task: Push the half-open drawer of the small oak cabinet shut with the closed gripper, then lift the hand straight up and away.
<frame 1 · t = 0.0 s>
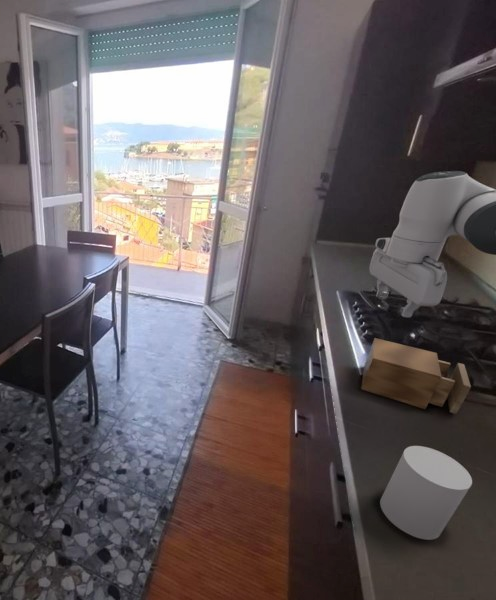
hand: (392, 306, 83), 22 cm above the worktop, tool pointing down, fingers open, 8 cm apart
cup: (408, 516, 61), on the worktop
cabinet: (392, 386, 92), on the worktop
drawer: (431, 380, 86), point 5 cm above the worktop, slide at 4.0 cm
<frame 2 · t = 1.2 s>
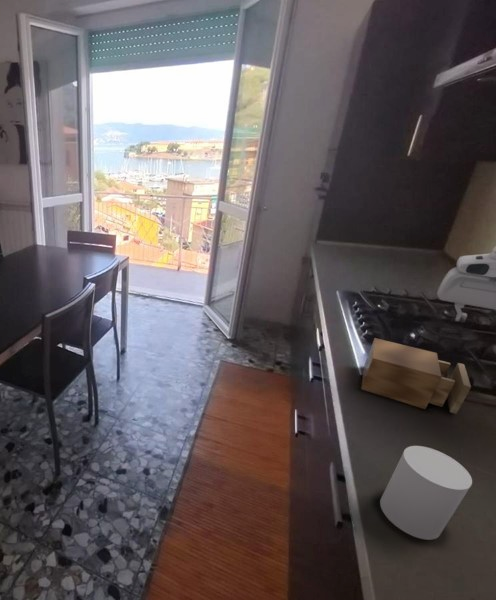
hand: (489, 326, 78), 20 cm above the worktop, tool pointing down, fingers open, 8 cm apart
nothing on the worktop moved.
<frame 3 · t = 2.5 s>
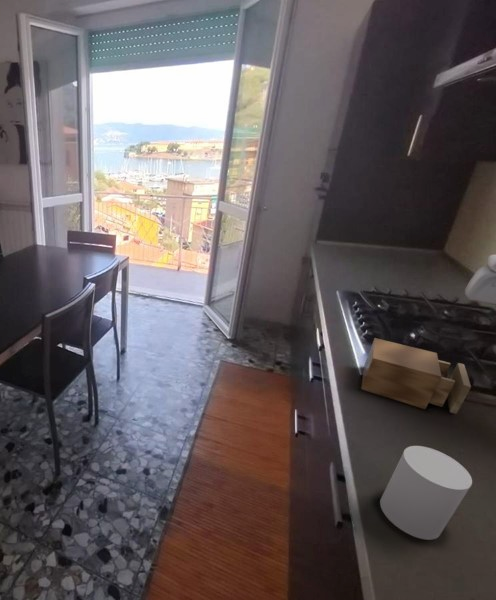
nothing on the worktop moved.
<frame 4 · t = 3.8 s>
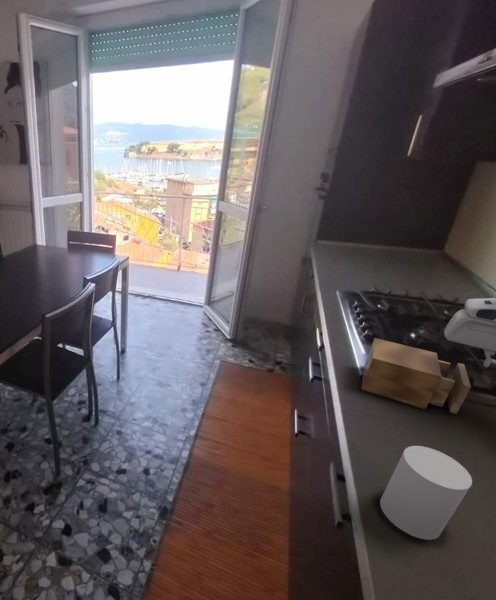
hand: (492, 368, 81), 10 cm above the worktop, tool pointing down, fingers closed
nothing on the worktop moved.
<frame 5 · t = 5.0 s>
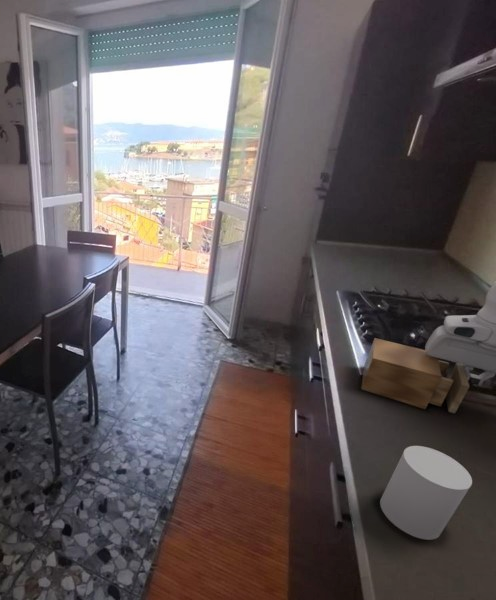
hand: (471, 382, 84), 5 cm above the worktop, tool pointing down, fingers closed
drawer: (430, 380, 86), point 5 cm above the worktop, slide at 3.7 cm, touching gripper
everything else where it was.
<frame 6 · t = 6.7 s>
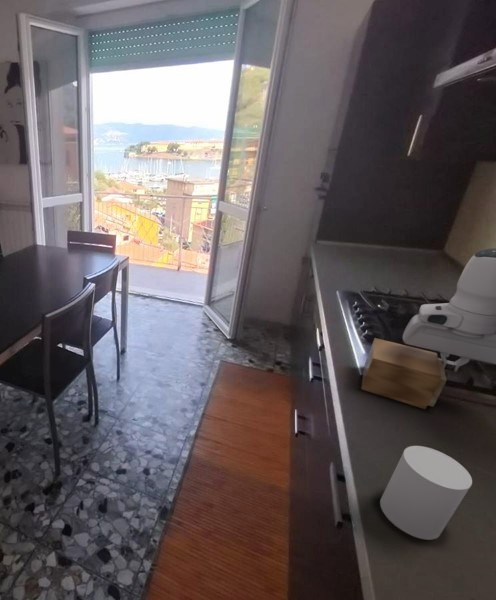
hand: (448, 368, 86), 7 cm above the worktop, tool pointing down, fingers closed
drawer: (410, 374, 88), point 5 cm above the worktop, slide at 0.0 cm, touching cabinet, gripper
everything else where it was.
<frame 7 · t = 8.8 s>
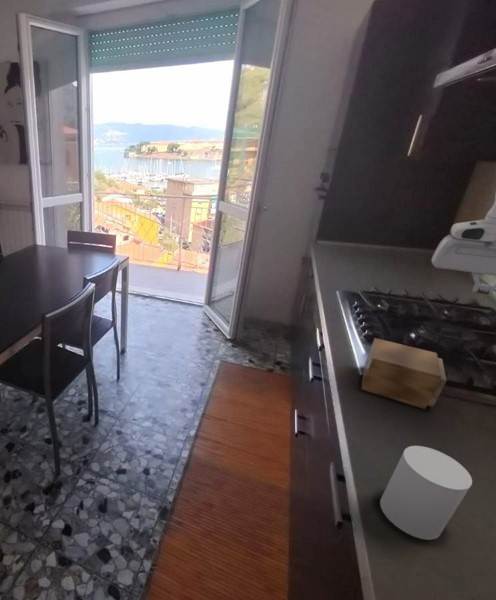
hand: (481, 292, 80), 27 cm above the worktop, tool pointing down, fingers closed
drawer: (410, 374, 88), point 5 cm above the worktop, slide at 0.0 cm
everything else where it was.
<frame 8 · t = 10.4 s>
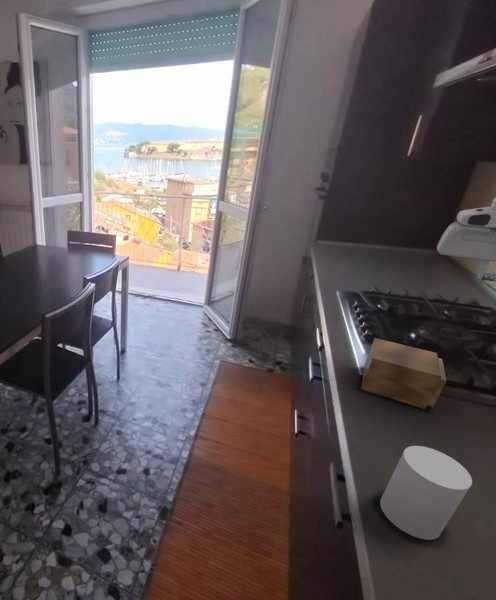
hand: (486, 279, 80), 29 cm above the worktop, tool pointing down, fingers closed
nothing on the worktop moved.
at the end: drawer slide at 0.0 cm; cup moved 0.2 cm from its start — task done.
